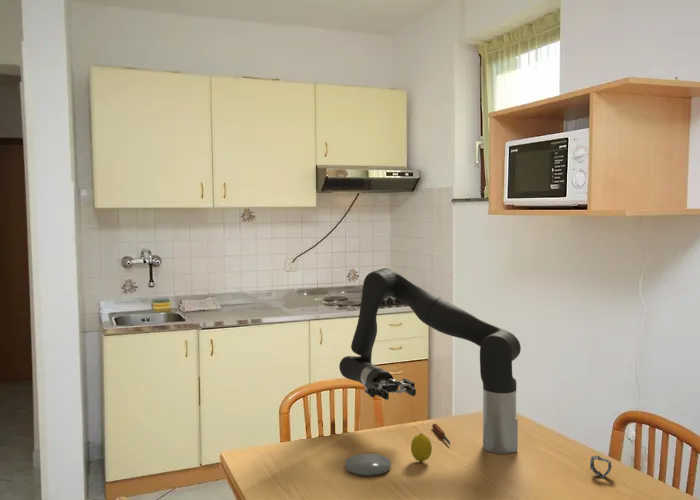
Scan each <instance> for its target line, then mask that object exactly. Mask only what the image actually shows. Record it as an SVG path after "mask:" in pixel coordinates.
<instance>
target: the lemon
mask: <svg viewBox="0 0 700 500" xmlns="http://www.w3.org/2000/svg"><path fill="white" fill-rule="evenodd" d="M410 445H411V446H410V451H411V455H412V457H413V458H414V459H415V460H417V461H418V462H419V463H421V464H422V463H424V461H427V460H428V459H430V457H431V455H432V450H433V449H432V442H431V439H430V438H429V437H428V436H427V435H426V434H423V433H422V432H421V433H419V434H417V435H415V436H414V437H413V439H412V440H411V444H410Z"/></svg>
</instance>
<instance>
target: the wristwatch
mask: <svg viewBox="0 0 700 500" xmlns="http://www.w3.org/2000/svg"><path fill="white" fill-rule="evenodd" d="M595 460H598V461H601V462H606V463H607V465H608V467H607V468H608V469H607V470H606V472H605V473H603V474H602V473H601V472H600V471H599V470H597V469H596V467H595ZM589 464H590V465H589V468H590V470H591V471H592V472H593V473H594V474H595V475H598V477H599V478H601V479H605V478H606V476H608V474H609V473H610V472H611V470H612V467H613V466H612V462H611V460H609V459H607V458H604V457H601V456H600V455H593V456H591V457H590V463H589Z"/></svg>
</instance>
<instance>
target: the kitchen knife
mask: <svg viewBox="0 0 700 500" xmlns="http://www.w3.org/2000/svg"><path fill="white" fill-rule="evenodd" d="M431 426H432V430H433V431H434V432H435V433H436V434H437V435H438V436H439V437H440V439H441V440H444V441H445V442H446V443H447V444H448V445H449V446H451V441H450V440H449V439H448V437H447V436H446V434H445V431H443V429H442V428H441V427H440V426H439V425H438V424H437V423H433V424H432V425H431Z"/></svg>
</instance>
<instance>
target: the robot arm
mask: <svg viewBox="0 0 700 500" xmlns="http://www.w3.org/2000/svg"><path fill="white" fill-rule="evenodd" d="M361 291H362V292H361V300H360V308H359V315H358V320H357V324H356V327H355V331H354V334H353V338H352V340H351V346H350V348H351V349H350V350H351V351H352V352H353V353H354V354H355V355H354V356H353V355H352V356H351V355H348V356H344V357H342V359H341V360H340V362H339V367H338V368H339V371H340V372H339V373H340V374H341V375H342V376H343V377H344V378H345V379H347V380H351V381H354V382H358V383H360V384H362V385H363V386H364V392H365V393H366V394H367V395H368V396H369V397H371V398H375V397H376V396H377V398H382V399H385V400H386V401H387V400H389V397H390V396H389V393H391V394H393V393H397V394H403V393H405V394H408V395H410V396H411V397H415V396H416V394H417V389H416V387H415V385H416V384H415V382H414V381H412V380H410V379H407V378H405V377H404V378H402V380H399V379H397V380H396V379H394V376H393V375H392V374H391V373H390V372H389V371H387V370H385V369H383V368H382V367H380V366H379V365H378V366H377V365H374V364H373V363H372V354H373V347H374V345H375V341H376V338H377V334H378V323H377V313H378V311H379V308H380V306H381V303H383V300H385V299H387V298H390V297H391V298H393V299H395V300H397V301H400V302H401V303H404V304H405V305H407V306H408V307H409V308H410V309H411V310H412V311H413V313H414V314H415V315H416V317H417V318H418V319H419V320H420V321H421V322H422V323H424V324H425V325H426V326H429V328H432V329H433V330H436V331H437V332H440V333H442V334H444V335H447V336H451V337H453V338H458V339H462V340H465V341H468V342H471V343H473V344H475V345H477V346H478V347H479V369H480V370H479V371H480V379H481V381H482V448H483V449H484V450H485V451H486V452H490V453H493V454H500V455H501V454H502V455H507V454H511V453H518V448H519V447H518V433H519V432H518V426H519V425H518V421H519V419H518V418H517V379H515V378H514V375H513V361H515V360H516V359H517V358H518V357H519V355H520V353H521V350H522V348H521V346H522V345H521V343H520V340H519V339H518V338H517V336H515V335H514V333H512V332H510V331H508V330H507V329H504V328H501V327H499V326H496V325H493V324H491V323H488V322H486V321H484V320H482V319H480V318H478V317H476V316H475V315H473V314H471V313H469V312H467V311H466V310H464V309H463V308H460V307H458V305H455V304H453V303H451V302H450V301H448V300H446V299H444V298H443V297H440V296H438V295H436V294H434V293H432V292H431V291H429V290H426V288H423V287H421V286H419V285H417V284H415V283H413V282H412V281H411V280H409V279H408V278H406V277H405V276H404V275H402V274H400V273H399V272H397V271H395V269H391V268H389V267H385V268H380V269H377V270H373V271H371V272H369V273H368V274H367V275H366V276H365V278H364V280H363V284H362V290H361ZM356 355H358V356H356Z"/></svg>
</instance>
